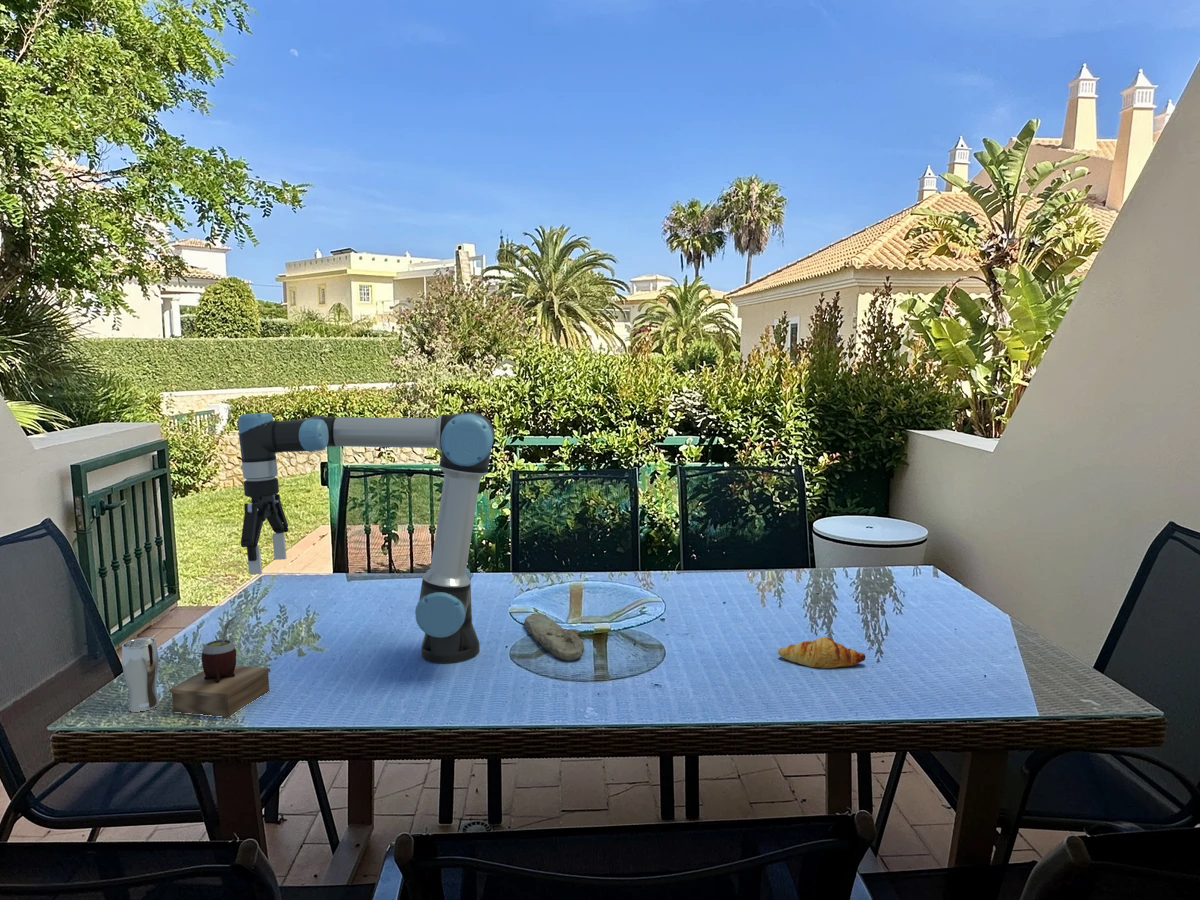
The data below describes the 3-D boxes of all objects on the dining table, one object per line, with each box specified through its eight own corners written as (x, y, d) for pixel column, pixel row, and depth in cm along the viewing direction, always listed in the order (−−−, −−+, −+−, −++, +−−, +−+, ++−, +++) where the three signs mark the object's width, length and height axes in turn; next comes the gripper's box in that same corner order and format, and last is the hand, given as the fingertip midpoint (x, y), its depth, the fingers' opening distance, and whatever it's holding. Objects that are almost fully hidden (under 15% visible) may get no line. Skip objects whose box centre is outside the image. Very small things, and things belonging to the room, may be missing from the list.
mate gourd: (205, 674, 176) (203, 610, 175) (242, 670, 178) (241, 607, 177) (199, 685, 169) (197, 619, 168) (238, 681, 171) (236, 615, 170)
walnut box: (271, 692, 180) (269, 668, 179) (229, 720, 165) (227, 694, 165) (217, 688, 183) (215, 664, 182) (171, 715, 168) (169, 689, 168)
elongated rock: (548, 624, 229) (516, 631, 225) (546, 607, 228) (515, 613, 224) (594, 657, 197) (558, 666, 193) (592, 637, 196) (556, 646, 192)
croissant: (777, 676, 193) (776, 654, 189) (778, 645, 201) (777, 624, 197) (866, 681, 187) (867, 659, 183) (863, 650, 196) (864, 628, 191)
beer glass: (168, 699, 176) (163, 636, 174) (151, 713, 169) (146, 647, 167) (137, 700, 175) (132, 637, 174) (119, 714, 168) (113, 648, 167)
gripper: (267, 472, 193) (275, 554, 195) (218, 487, 168) (227, 581, 170) (297, 470, 193) (304, 553, 195) (252, 486, 168) (261, 580, 170)
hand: (268, 566), depth 183 cm, fingers open, 13 cm apart
